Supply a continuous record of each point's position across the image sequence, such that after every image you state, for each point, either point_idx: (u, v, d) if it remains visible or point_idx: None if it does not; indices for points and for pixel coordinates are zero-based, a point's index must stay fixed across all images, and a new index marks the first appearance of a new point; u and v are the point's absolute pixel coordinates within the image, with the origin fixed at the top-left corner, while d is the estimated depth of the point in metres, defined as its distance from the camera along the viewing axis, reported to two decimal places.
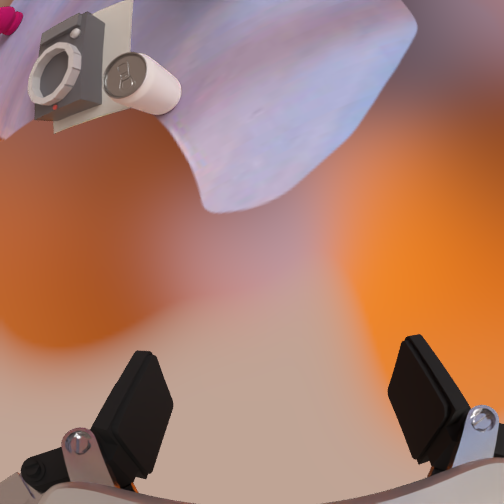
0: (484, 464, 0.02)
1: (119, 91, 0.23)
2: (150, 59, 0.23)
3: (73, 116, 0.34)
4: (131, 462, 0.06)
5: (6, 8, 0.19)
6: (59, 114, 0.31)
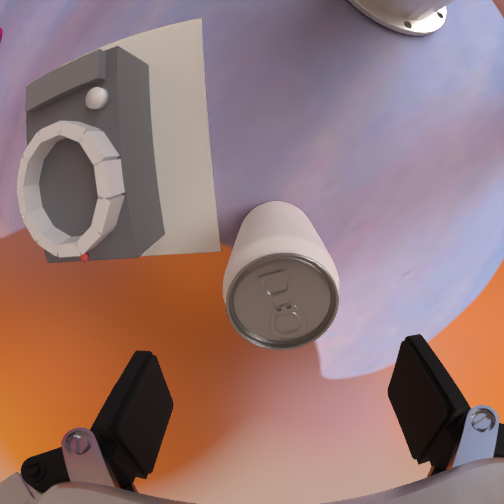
0: (484, 464, 0.02)
1: (271, 333, 0.14)
2: (332, 264, 0.14)
3: None
4: (131, 462, 0.06)
5: None
6: None
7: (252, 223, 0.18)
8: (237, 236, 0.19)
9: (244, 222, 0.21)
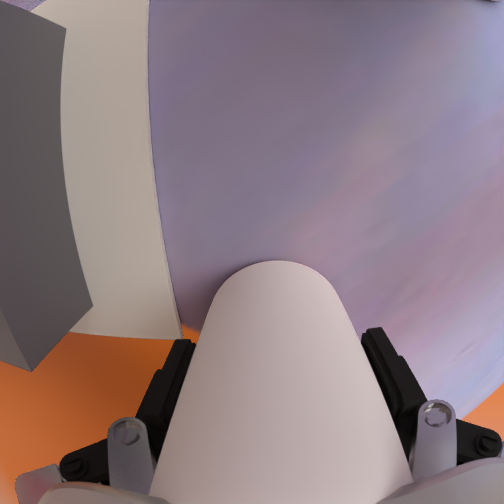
0: (484, 464, 0.02)
1: None
2: None
3: None
4: None
5: None
6: None
7: (217, 357, 0.07)
8: (191, 362, 0.08)
9: (210, 317, 0.10)
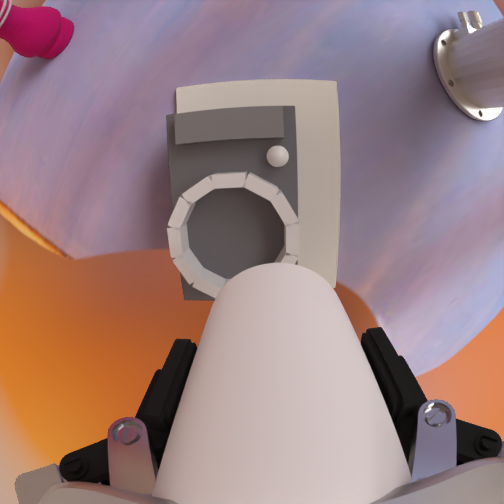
0: (484, 464, 0.02)
1: None
2: None
3: None
4: None
5: (46, 10, 0.14)
6: None
7: (219, 359, 0.07)
8: (192, 365, 0.08)
9: (212, 319, 0.10)
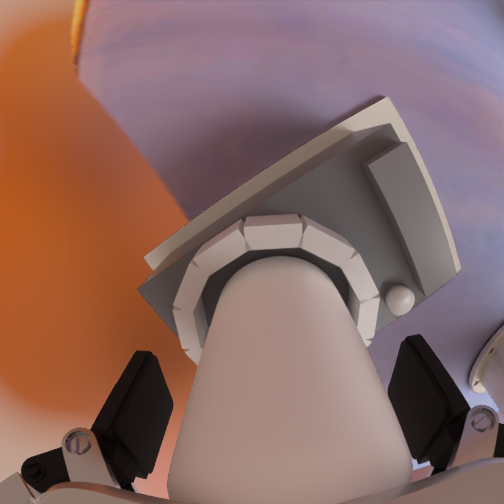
0: (484, 464, 0.02)
1: None
2: (410, 468, 0.04)
3: None
4: (131, 462, 0.06)
5: None
6: None
7: (231, 338, 0.08)
8: (205, 347, 0.09)
9: (221, 307, 0.11)
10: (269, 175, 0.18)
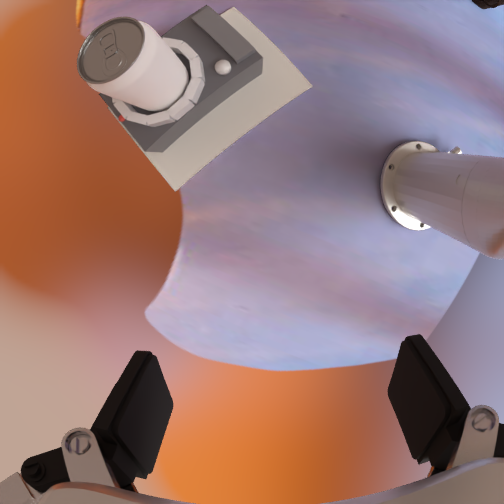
0: (484, 464, 0.02)
1: (103, 72, 0.14)
2: (148, 26, 0.14)
3: None
4: (131, 462, 0.06)
5: None
6: None
7: None
8: None
9: None
10: None
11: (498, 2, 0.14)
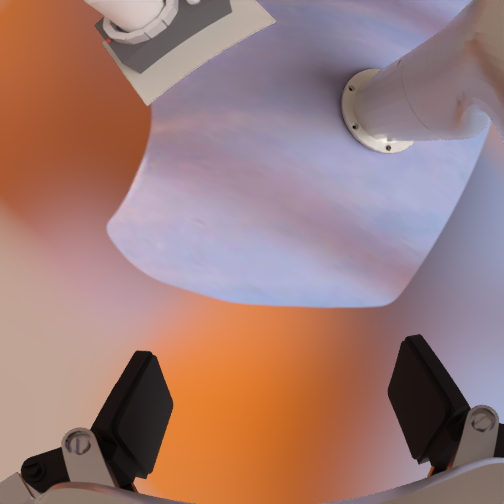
0: (484, 464, 0.02)
1: None
2: None
3: None
4: (131, 462, 0.06)
5: None
6: None
7: None
8: None
9: None
10: None
11: None
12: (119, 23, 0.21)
